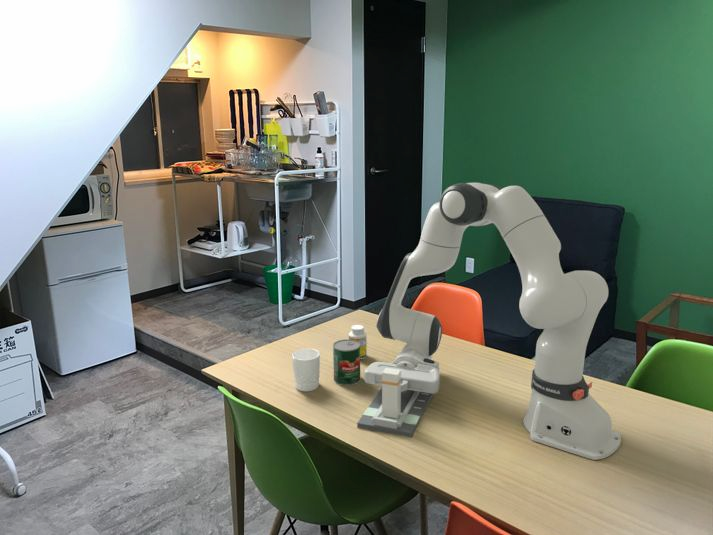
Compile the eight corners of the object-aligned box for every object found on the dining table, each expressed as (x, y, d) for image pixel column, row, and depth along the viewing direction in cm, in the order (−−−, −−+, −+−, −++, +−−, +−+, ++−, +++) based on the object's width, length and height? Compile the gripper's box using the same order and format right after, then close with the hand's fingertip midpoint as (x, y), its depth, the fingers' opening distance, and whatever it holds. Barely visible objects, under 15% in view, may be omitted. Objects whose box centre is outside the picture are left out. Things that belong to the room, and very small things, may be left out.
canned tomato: (348, 388, 164) (347, 352, 161) (328, 380, 169) (327, 345, 166) (366, 378, 170) (365, 343, 167) (346, 370, 175) (345, 337, 172)
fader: (400, 412, 147) (401, 369, 144) (397, 418, 145) (397, 375, 141) (385, 410, 149) (385, 367, 145) (381, 415, 146) (381, 372, 143)
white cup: (319, 392, 161) (318, 360, 159) (291, 392, 162) (290, 360, 159) (321, 379, 169) (320, 348, 166) (295, 379, 169) (293, 348, 167)
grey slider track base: (434, 392, 161) (434, 382, 160) (411, 437, 139) (411, 426, 138) (386, 384, 166) (386, 375, 165) (357, 427, 144) (357, 416, 143)
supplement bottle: (346, 355, 185) (345, 325, 182) (361, 352, 188) (361, 322, 185) (354, 362, 180) (353, 331, 178) (369, 358, 183) (369, 328, 180)
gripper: (372, 352, 162) (355, 373, 150) (444, 362, 156) (432, 385, 143) (372, 373, 164) (355, 395, 152) (443, 384, 157) (432, 408, 145)
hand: (393, 390), depth 147 cm, fingers closed
